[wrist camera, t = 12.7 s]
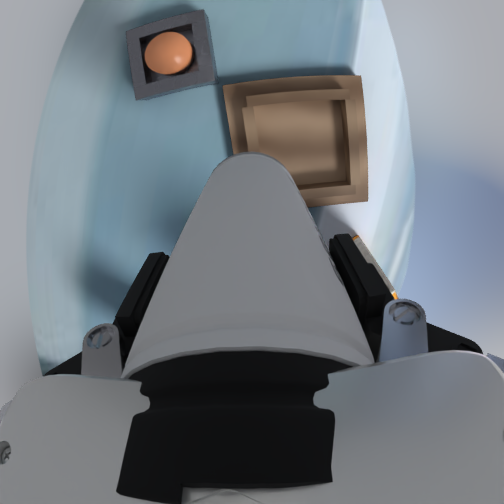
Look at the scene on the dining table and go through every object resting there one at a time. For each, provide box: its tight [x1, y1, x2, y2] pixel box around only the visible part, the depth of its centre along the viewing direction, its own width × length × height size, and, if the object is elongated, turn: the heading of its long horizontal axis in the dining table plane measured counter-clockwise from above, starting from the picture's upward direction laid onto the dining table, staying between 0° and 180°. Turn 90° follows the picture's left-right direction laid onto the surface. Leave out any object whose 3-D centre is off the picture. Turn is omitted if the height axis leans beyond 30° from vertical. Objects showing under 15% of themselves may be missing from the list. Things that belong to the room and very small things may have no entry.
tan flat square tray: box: [223, 75, 368, 208], centre depth 31 cm, size 16×16×4 cm
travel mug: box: [116, 152, 375, 504], centre depth 12 cm, size 6×7×20 cm
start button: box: [145, 32, 195, 76], centre depth 25 cm, size 5×5×3 cm
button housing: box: [126, 9, 219, 100], centre depth 26 cm, size 9×9×4 cm
